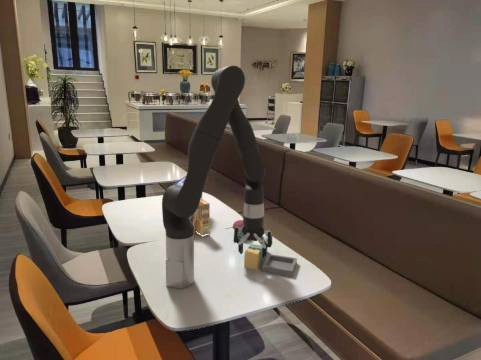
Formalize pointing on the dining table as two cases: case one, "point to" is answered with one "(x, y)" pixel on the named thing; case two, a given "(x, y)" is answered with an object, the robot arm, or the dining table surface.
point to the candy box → (202, 218)
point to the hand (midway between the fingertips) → (252, 254)
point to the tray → (279, 265)
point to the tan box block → (252, 258)
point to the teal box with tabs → (258, 247)
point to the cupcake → (240, 224)
